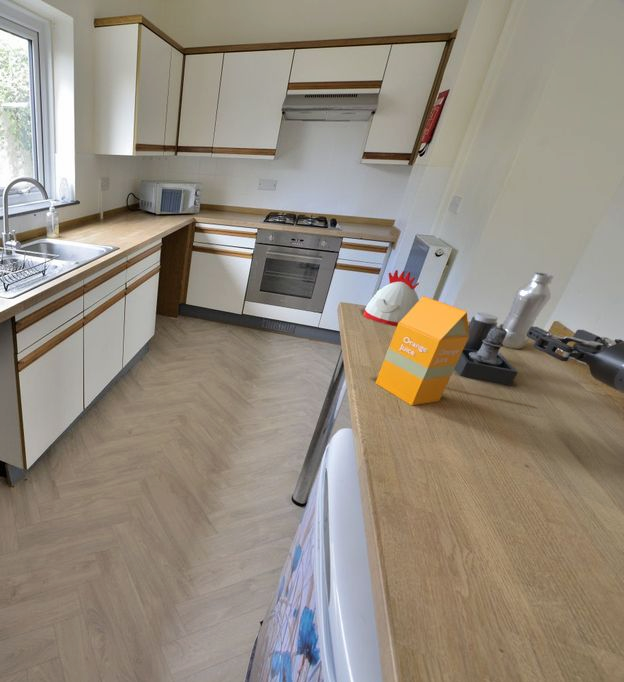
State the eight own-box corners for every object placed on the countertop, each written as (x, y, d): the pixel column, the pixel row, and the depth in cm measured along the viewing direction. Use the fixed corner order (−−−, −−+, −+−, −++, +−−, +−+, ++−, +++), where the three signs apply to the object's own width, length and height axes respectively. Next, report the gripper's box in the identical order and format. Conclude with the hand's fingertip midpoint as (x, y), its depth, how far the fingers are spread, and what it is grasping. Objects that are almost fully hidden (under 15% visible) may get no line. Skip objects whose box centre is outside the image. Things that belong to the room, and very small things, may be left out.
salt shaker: (491, 380, 91) (517, 331, 86) (459, 369, 95) (482, 322, 90) (497, 372, 95) (522, 325, 89) (466, 362, 99) (488, 316, 93)
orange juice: (411, 405, 82) (451, 312, 73) (374, 383, 89) (407, 296, 81) (440, 400, 84) (482, 310, 75) (401, 379, 91) (436, 294, 83)
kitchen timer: (376, 308, 134) (392, 263, 127) (423, 322, 124) (443, 274, 117) (355, 315, 127) (370, 268, 120) (403, 331, 117) (423, 281, 110)
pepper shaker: (475, 355, 103) (496, 314, 98) (482, 363, 99) (503, 321, 94) (453, 351, 105) (471, 310, 100) (458, 358, 101) (478, 317, 96)
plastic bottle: (500, 349, 108) (537, 276, 100) (486, 339, 114) (520, 269, 106) (528, 353, 107) (569, 279, 98) (512, 342, 113) (549, 272, 104)
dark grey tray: (482, 356, 104) (489, 341, 103) (509, 388, 90) (518, 372, 88) (440, 348, 108) (446, 334, 106) (459, 377, 93) (466, 362, 91)
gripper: (584, 391, 66) (505, 347, 81) (677, 398, 65) (581, 352, 80) (610, 350, 63) (524, 311, 77) (710, 357, 62) (603, 317, 77)
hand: (553, 332), depth 79 cm, fingers open, 8 cm apart
